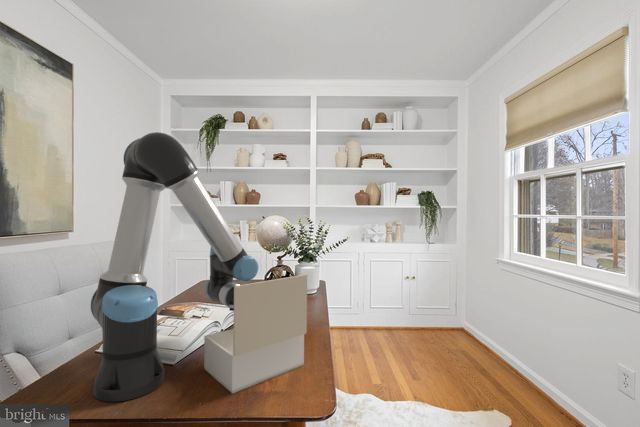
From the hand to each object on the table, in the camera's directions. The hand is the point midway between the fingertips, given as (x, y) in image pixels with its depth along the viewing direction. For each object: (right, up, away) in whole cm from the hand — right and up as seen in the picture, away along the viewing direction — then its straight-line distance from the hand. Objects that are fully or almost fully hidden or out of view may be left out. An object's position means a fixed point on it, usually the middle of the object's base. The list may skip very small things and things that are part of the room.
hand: (281, 315), depth 88 cm
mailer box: (-8, -16, +4) cm, 18 cm away
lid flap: (-2, +2, -2) cm, 3 cm away
